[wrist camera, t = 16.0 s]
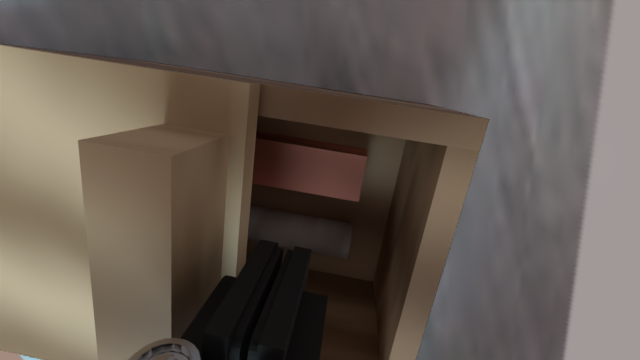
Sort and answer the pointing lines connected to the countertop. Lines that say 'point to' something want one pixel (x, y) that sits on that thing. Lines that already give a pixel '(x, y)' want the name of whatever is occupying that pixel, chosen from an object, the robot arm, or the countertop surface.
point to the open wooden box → (358, 203)
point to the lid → (116, 200)
